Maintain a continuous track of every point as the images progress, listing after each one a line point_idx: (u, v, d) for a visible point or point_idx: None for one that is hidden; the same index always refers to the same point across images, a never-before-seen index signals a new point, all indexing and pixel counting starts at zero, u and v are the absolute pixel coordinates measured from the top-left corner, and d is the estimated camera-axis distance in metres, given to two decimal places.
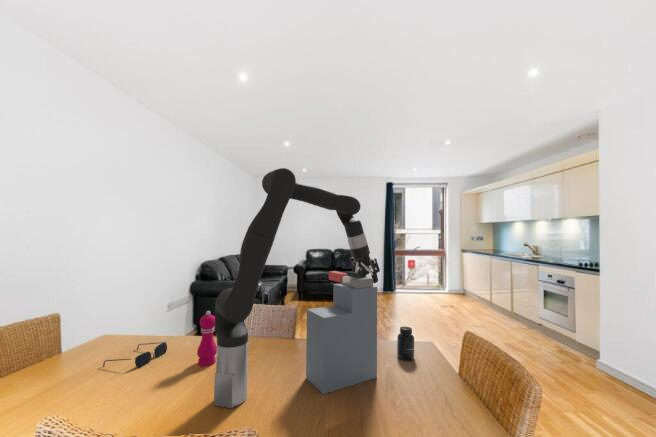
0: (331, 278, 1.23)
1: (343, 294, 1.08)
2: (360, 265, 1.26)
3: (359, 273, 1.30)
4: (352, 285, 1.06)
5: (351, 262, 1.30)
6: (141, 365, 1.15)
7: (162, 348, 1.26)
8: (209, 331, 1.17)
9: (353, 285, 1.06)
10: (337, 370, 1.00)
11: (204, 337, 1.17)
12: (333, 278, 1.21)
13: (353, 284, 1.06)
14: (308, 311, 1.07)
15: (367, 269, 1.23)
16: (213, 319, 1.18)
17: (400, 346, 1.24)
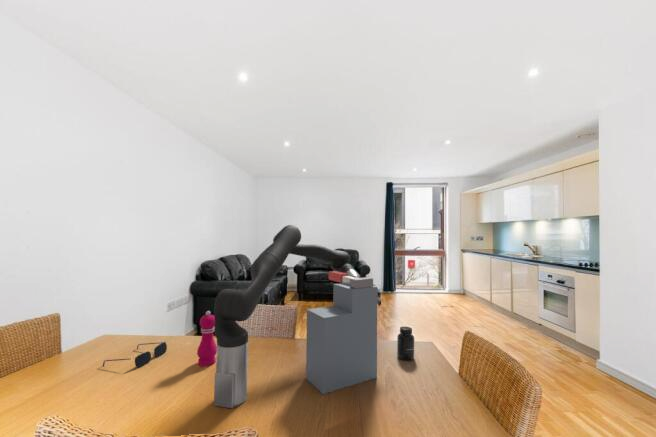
0: (331, 278, 1.23)
1: (343, 294, 1.08)
2: None
3: None
4: (352, 285, 1.06)
5: None
6: (141, 365, 1.15)
7: (162, 348, 1.26)
8: (209, 331, 1.17)
9: (353, 285, 1.06)
10: (337, 370, 1.00)
11: (204, 337, 1.17)
12: (333, 278, 1.21)
13: (353, 284, 1.06)
14: (308, 311, 1.07)
15: None
16: (213, 319, 1.18)
17: (400, 346, 1.24)
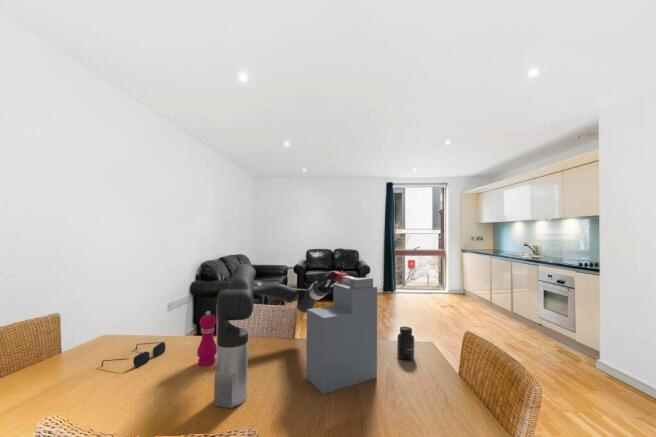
0: None
1: (343, 294, 1.08)
2: None
3: None
4: (352, 285, 1.06)
5: None
6: (139, 365, 1.15)
7: (160, 348, 1.26)
8: (209, 331, 1.17)
9: (353, 285, 1.06)
10: (337, 370, 1.00)
11: (204, 337, 1.17)
12: (333, 278, 1.21)
13: (353, 284, 1.06)
14: (308, 311, 1.07)
15: None
16: (213, 319, 1.18)
17: (400, 346, 1.24)
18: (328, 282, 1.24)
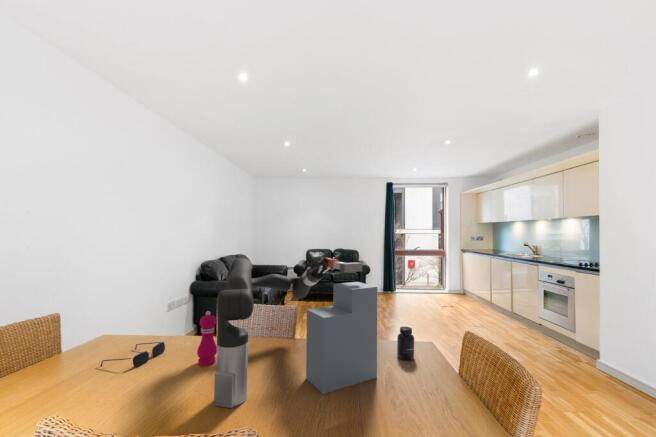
0: None
1: (343, 294, 1.08)
2: None
3: None
4: (342, 269, 1.12)
5: None
6: (139, 365, 1.15)
7: (160, 348, 1.26)
8: (209, 331, 1.17)
9: (343, 269, 1.12)
10: (337, 370, 1.00)
11: (204, 337, 1.17)
12: (325, 264, 1.27)
13: (343, 268, 1.11)
14: (308, 311, 1.07)
15: None
16: (213, 319, 1.18)
17: (400, 346, 1.24)
18: (320, 268, 1.30)
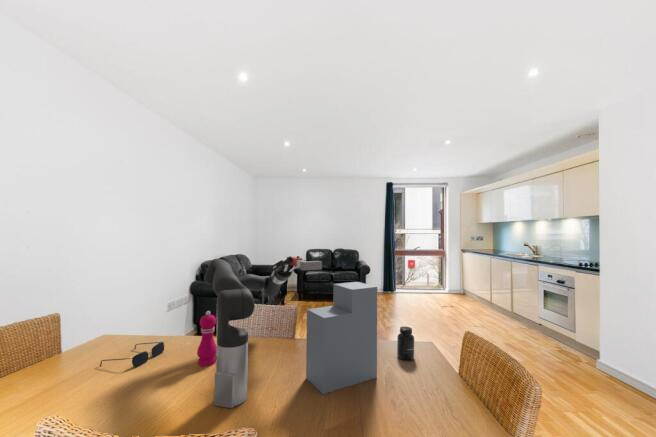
0: None
1: (343, 294, 1.08)
2: None
3: None
4: (301, 267, 1.16)
5: None
6: (138, 365, 1.15)
7: (159, 348, 1.26)
8: (209, 331, 1.17)
9: (302, 267, 1.15)
10: (337, 370, 1.00)
11: (204, 337, 1.17)
12: (290, 263, 1.31)
13: (302, 266, 1.15)
14: (308, 311, 1.07)
15: None
16: (213, 319, 1.18)
17: (400, 346, 1.24)
18: (286, 267, 1.34)
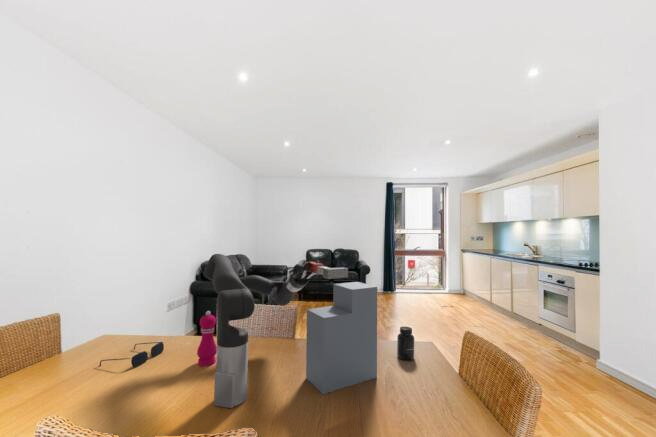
0: None
1: (343, 294, 1.08)
2: None
3: None
4: (325, 275, 1.01)
5: None
6: (137, 365, 1.15)
7: (159, 348, 1.27)
8: (209, 331, 1.17)
9: (326, 275, 1.00)
10: (337, 370, 1.00)
11: (204, 337, 1.17)
12: (309, 269, 1.16)
13: (326, 274, 1.00)
14: (308, 311, 1.07)
15: None
16: (213, 319, 1.18)
17: (400, 346, 1.24)
18: (304, 273, 1.18)
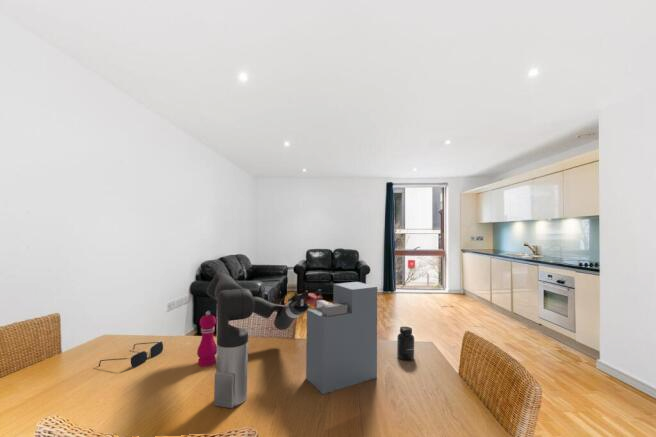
0: (306, 301, 1.17)
1: (343, 294, 1.08)
2: None
3: None
4: (324, 312, 1.01)
5: None
6: (137, 365, 1.15)
7: (158, 348, 1.27)
8: (209, 331, 1.17)
9: (325, 312, 1.00)
10: (337, 370, 1.00)
11: (204, 337, 1.17)
12: (308, 301, 1.16)
13: (325, 311, 1.00)
14: (308, 311, 1.07)
15: None
16: (213, 319, 1.18)
17: (400, 346, 1.24)
18: (302, 301, 1.18)
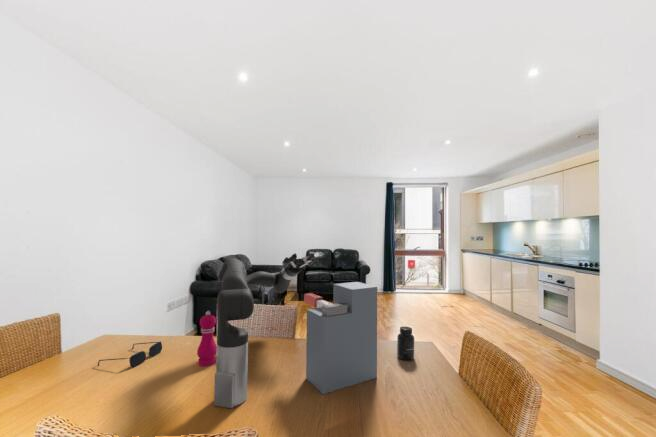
0: (306, 301, 1.17)
1: (343, 294, 1.08)
2: None
3: None
4: (324, 312, 1.01)
5: None
6: (135, 364, 1.15)
7: (157, 348, 1.27)
8: (209, 331, 1.17)
9: (325, 312, 1.00)
10: (337, 370, 1.00)
11: (204, 337, 1.17)
12: (308, 301, 1.16)
13: (325, 311, 1.00)
14: (308, 311, 1.07)
15: (304, 257, 1.42)
16: (213, 319, 1.18)
17: (400, 346, 1.24)
18: (293, 263, 1.37)
